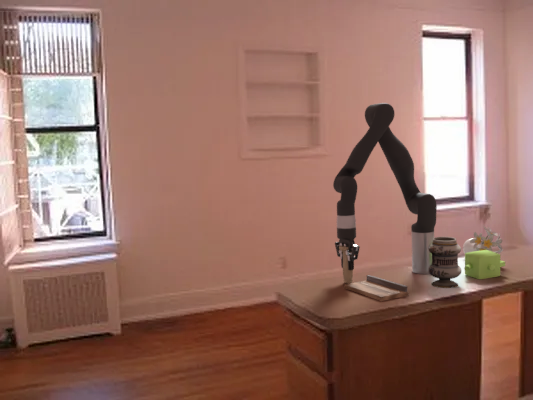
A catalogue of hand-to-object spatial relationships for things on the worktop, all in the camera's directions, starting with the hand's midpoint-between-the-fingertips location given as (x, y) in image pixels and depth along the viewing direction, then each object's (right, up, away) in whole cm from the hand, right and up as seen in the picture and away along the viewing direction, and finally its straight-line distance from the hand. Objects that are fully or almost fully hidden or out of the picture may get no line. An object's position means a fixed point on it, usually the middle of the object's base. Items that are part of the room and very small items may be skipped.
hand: (347, 268), depth 223 cm
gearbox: (+54, -4, +1) cm, 54 cm away
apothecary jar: (+36, -5, -9) cm, 37 cm away
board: (+8, -7, -14) cm, 18 cm away
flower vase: (+63, -1, +27) cm, 69 cm away
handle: (0, -6, +1) cm, 6 cm away
